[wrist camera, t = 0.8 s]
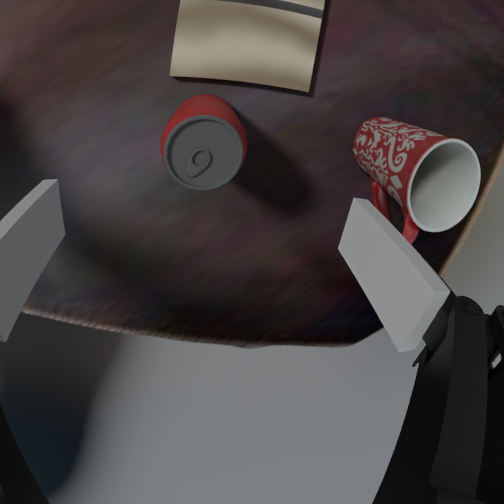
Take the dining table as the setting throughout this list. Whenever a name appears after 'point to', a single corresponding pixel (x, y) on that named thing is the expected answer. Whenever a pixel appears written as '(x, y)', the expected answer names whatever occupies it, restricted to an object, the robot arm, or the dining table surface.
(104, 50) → the dining table surface
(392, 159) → the mug
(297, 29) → the beige green bent panel
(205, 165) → the beer can
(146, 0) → the dining table surface
